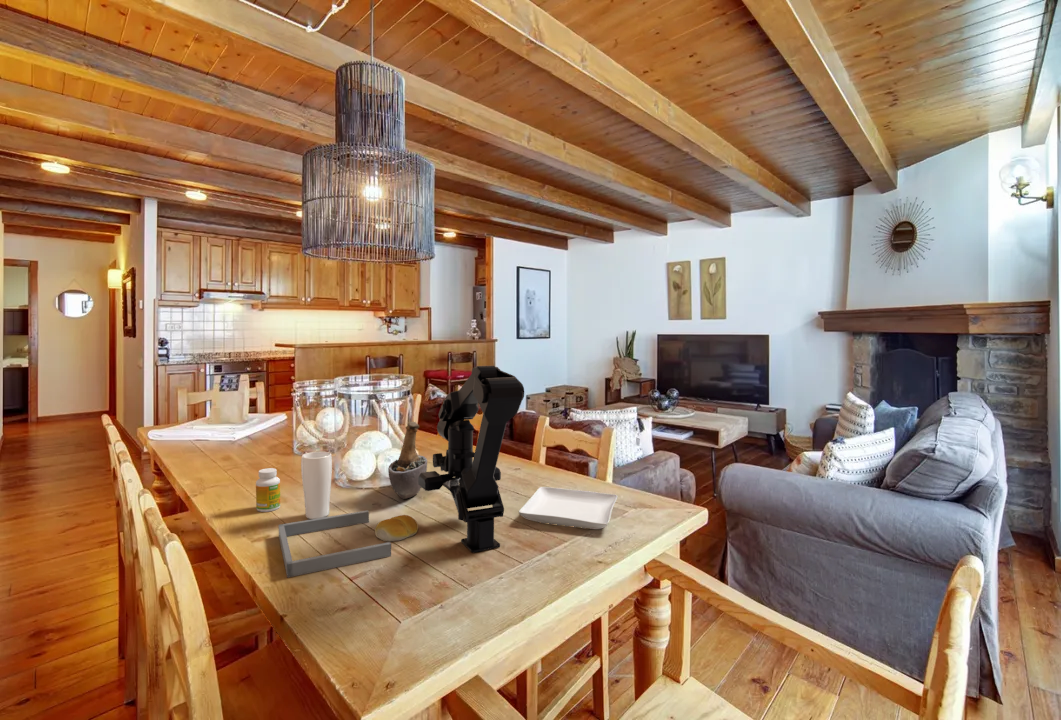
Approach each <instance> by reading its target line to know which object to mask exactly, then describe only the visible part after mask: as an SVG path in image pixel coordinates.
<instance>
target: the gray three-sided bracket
mask: <svg viewBox="0 0 1061 720" xmlns="http://www.w3.org/2000/svg"><path fill="white" fill-rule="evenodd" d="M369 522H370V511H369V510H368V509H367V510H361V511H356V512H349V513H348V512H347V513H342V514H337V515H331V516H326V517H324V518H317V519H306V520H300V521H294V522H293V521H292V522H288V523H283V524H282V523H281V524H278V539H279V544H280V550H281V553H282V554H281V555H282V559H283V563H284V568H285V573H286V578H292V577H297V576H298V577H299V576H302V575H307V574H311V573H316V572H321V571H325V570H331V569H335V568H336V569H337V568H340V567H344V566H350V565H354V564H359V563H363V562H368V561H369V562H370V561H373V560H379V559H383V558H387V557H391V556H392V543H391V542H388V541H386V542H383V543H377V544H373V545H372V544H371V545H367V546H363V547H358V548H353V549H346V550H342V551H338V552H337V551H336V552H331V553H327V554H322V555H317V556H311V557H308V558H307V557H306V558H301V559H296V560H293V557H292V553H291V549H290V546H289V541H288V537H291V536H296V535H297V536H298V535H302V534H303V535H304V534H307V533H308V534H309V533H314V532H319V531H325V530H332V529H337V528H336V527H338V528H341V527H342V528H343V527H348V526H354V525H360V524H365V523H369ZM331 528H332V529H331Z"/></svg>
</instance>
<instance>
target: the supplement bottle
mask: <svg viewBox="0 0 1061 720" xmlns="http://www.w3.org/2000/svg"><path fill="white" fill-rule="evenodd" d="M277 474H278V473H277V469H276V468H275V467H274V468H273V467H269V468H262V469H259V470H258V479H257V480H256V482H255V503H256V504H255V506H256V511H257V512H262V513H265V512H274V511H276V510H278V509H280V507H281V479H280V478H279V477H278V476H277Z"/></svg>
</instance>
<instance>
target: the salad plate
mask: <svg viewBox="0 0 1061 720" xmlns="http://www.w3.org/2000/svg"><path fill="white" fill-rule="evenodd" d="M617 500H618V495H617V494H615V493H606V492H597V491H589V490H581V489H580V490H579V489H571V488H561V487H551V486H539V487H538V488H537V490H536V491H535V492H534V493H533V494H532V495H531V497H530V498H529V499H528V500H527V501H526V502H525V503H524V505H522V507H521V508H520V509H519V510H518V514H519V515H520V516H521V517H523V518H524V519H526V520H528V521H533V522H537V523H539V522H541V524H545V523H549V524H548V525H552V524H557V525H556V526H560V525H565V526H564V527H568V526H574V527H573V528H576V527H582V528H581V529H585V528H590V529H589V530H600V529H604V528H606V527H607V526H608V525H609V523H610V520H611V517H612V513H613V508H614V506H615V504H616V502H617Z"/></svg>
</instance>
